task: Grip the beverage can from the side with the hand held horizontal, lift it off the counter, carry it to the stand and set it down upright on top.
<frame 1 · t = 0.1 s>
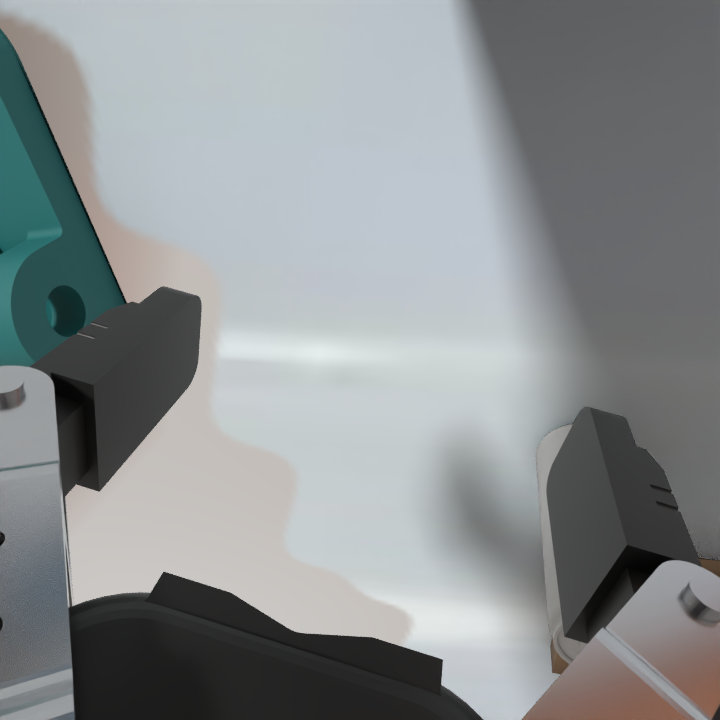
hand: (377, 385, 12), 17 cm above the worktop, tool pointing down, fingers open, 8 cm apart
stand: (650, 611, 39), on the worktop
bracket: (24, 185, 31), on the worktop
beverage can: (578, 447, 33), on the worktop
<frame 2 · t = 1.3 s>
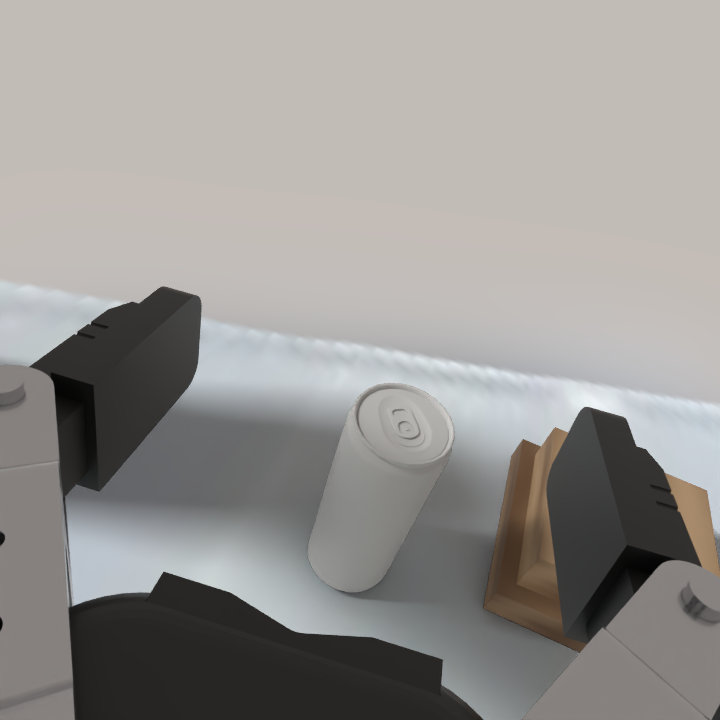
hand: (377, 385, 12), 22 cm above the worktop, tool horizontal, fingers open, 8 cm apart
stand: (588, 562, 36), on the worktop
beverage can: (346, 557, 32), on the worktop
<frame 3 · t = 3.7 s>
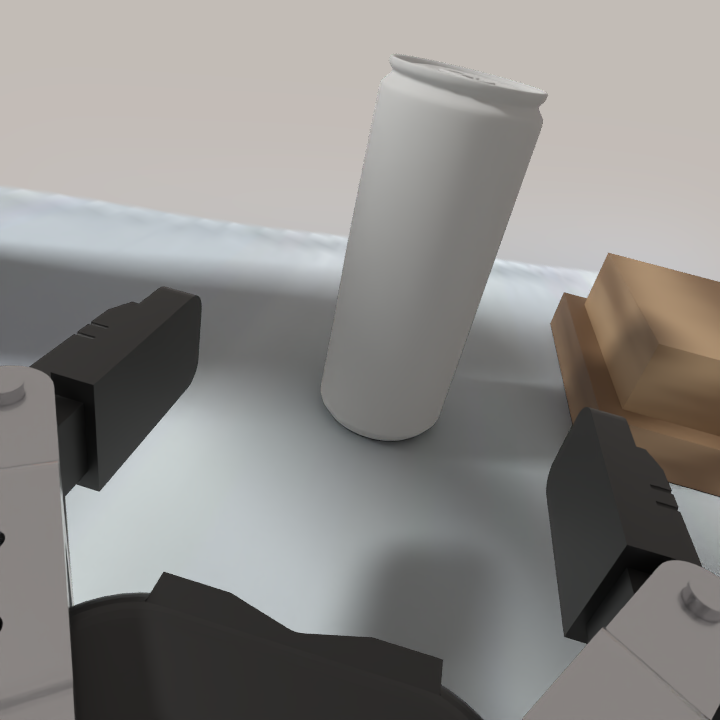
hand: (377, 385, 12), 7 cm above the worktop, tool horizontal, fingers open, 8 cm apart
stand: (686, 411, 27), on the worktop
beverage can: (375, 411, 22), on the worktop
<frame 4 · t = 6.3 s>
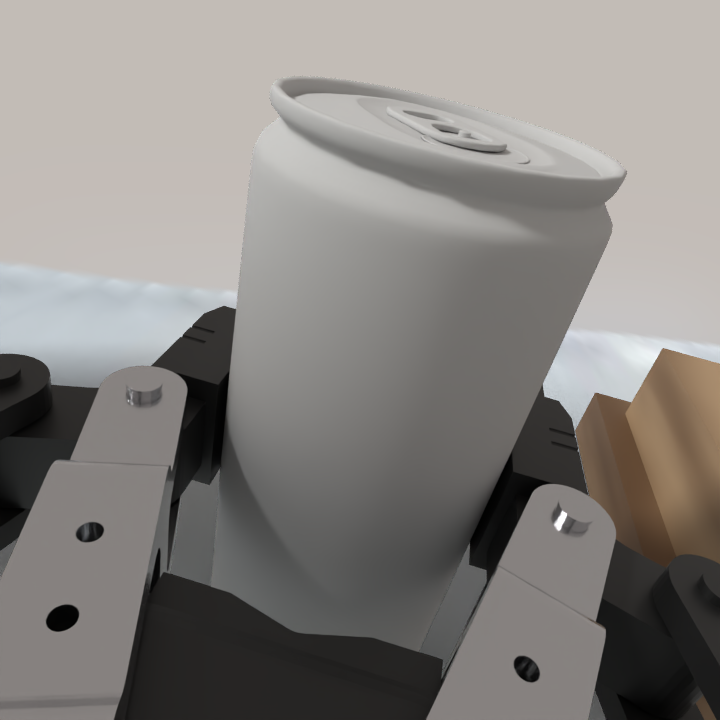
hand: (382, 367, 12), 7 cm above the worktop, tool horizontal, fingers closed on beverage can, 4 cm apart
beverage can: (304, 652, 14), on the worktop, touching gripper
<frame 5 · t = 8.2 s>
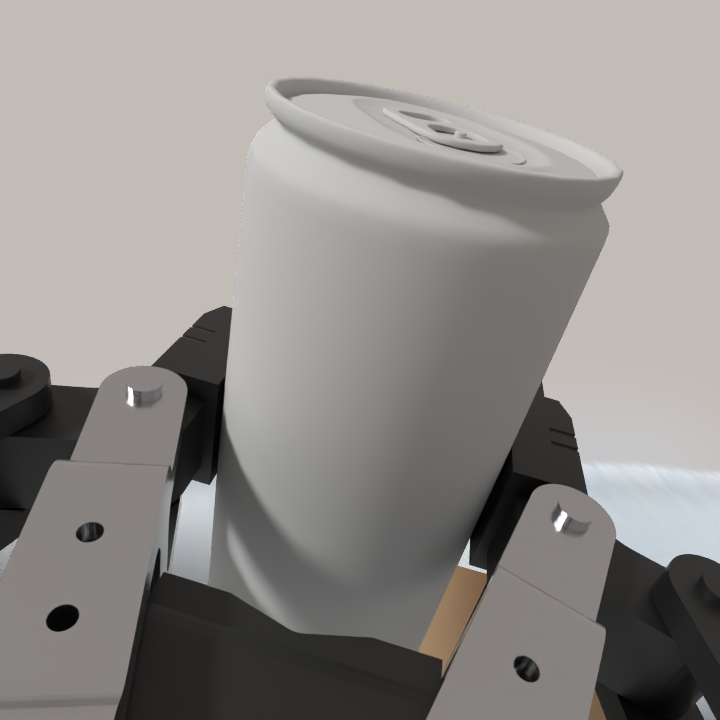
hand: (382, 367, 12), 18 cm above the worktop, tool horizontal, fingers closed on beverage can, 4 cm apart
beverage can: (302, 653, 14), point 11 cm above the worktop, touching gripper
when the fingers open (13 cm above the worktop, at t = 10.3 s): beverage can drops 1 cm, resting on stand.
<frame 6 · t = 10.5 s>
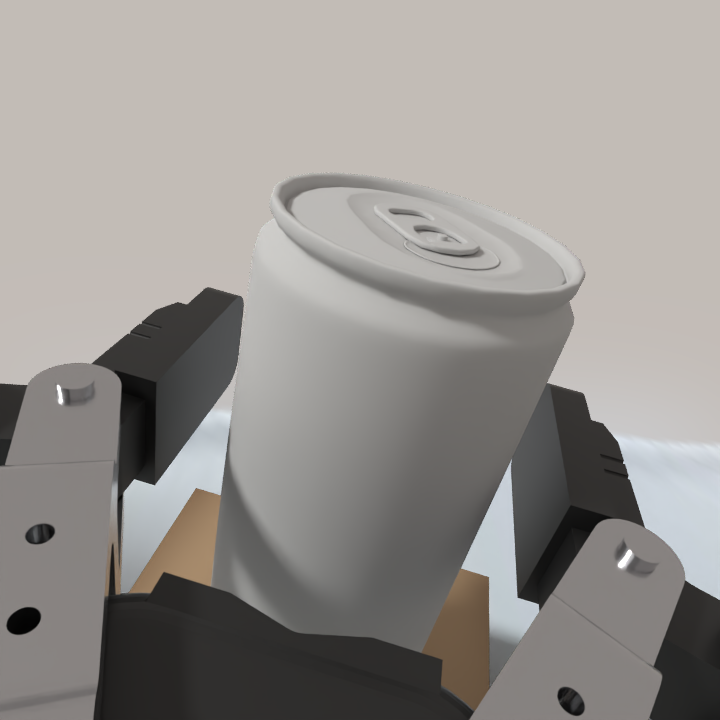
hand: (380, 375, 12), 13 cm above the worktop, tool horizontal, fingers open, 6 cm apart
beverage can: (293, 689, 14), point 5 cm above the worktop, touching stand
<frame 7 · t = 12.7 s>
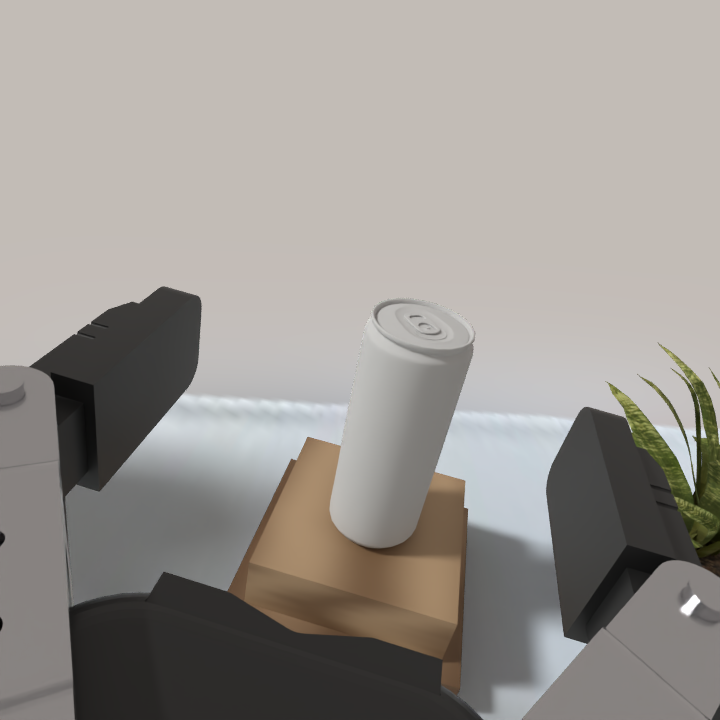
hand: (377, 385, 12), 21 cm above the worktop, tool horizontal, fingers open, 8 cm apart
stand: (354, 576, 33), on the worktop
beverage can: (370, 521, 30), point 5 cm above the worktop, touching stand
house plant: (657, 597, 36), on the worktop
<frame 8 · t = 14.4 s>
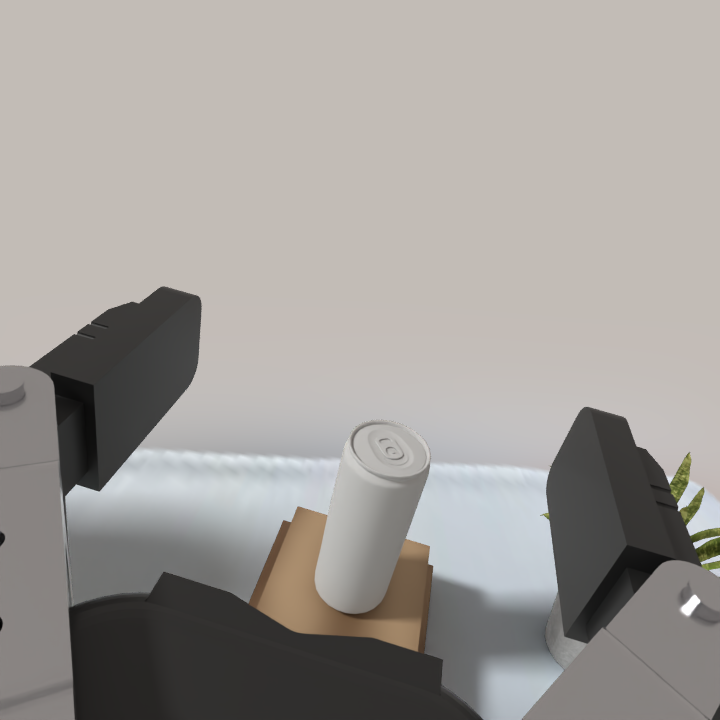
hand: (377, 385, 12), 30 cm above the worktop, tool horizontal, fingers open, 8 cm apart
stand: (335, 627, 40), on the worktop
beverage can: (348, 586, 37), point 5 cm above the worktop, touching stand
house plant: (590, 642, 43), on the worktop
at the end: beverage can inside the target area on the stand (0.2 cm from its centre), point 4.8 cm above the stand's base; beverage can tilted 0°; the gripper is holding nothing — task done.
